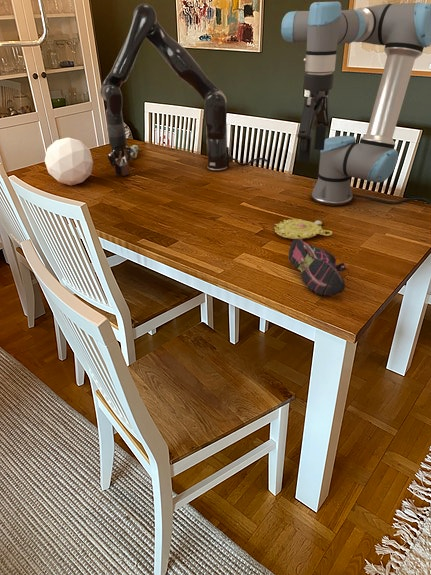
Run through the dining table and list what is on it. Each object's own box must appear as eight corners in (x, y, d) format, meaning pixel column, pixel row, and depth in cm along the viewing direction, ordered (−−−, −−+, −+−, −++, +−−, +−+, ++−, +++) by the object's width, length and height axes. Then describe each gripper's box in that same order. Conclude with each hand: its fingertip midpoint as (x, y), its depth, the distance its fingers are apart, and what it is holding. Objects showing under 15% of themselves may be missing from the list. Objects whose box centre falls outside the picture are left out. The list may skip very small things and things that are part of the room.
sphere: (65, 197, 199) (41, 157, 196) (104, 175, 201) (80, 136, 198) (57, 189, 180) (29, 146, 177) (100, 165, 182) (73, 122, 180)
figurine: (121, 147, 205) (136, 136, 231) (111, 160, 208) (127, 147, 235) (133, 159, 207) (147, 145, 233) (123, 171, 210) (137, 157, 237)
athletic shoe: (331, 285, 107) (371, 277, 111) (291, 223, 118) (328, 219, 123) (315, 312, 115) (352, 304, 120) (279, 253, 127) (314, 247, 131)
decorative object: (286, 211, 157) (342, 219, 147) (286, 217, 158) (341, 226, 148) (260, 233, 142) (319, 243, 133) (260, 240, 144) (319, 251, 134)
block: (121, 171, 203) (119, 162, 201) (129, 173, 201) (128, 163, 199) (115, 174, 200) (114, 164, 198) (124, 175, 198) (122, 165, 196)
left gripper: (120, 129, 198) (125, 167, 207) (99, 137, 187) (105, 176, 197) (133, 131, 195) (138, 169, 204) (113, 138, 184) (119, 178, 194)
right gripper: (319, 66, 124) (312, 143, 136) (288, 78, 106) (283, 166, 117) (346, 67, 121) (336, 145, 133) (318, 80, 103) (310, 169, 114)
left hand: (122, 172), depth 200 cm, fingers closed on block, 4 cm apart
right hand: (311, 155), depth 125 cm, fingers open, 13 cm apart
